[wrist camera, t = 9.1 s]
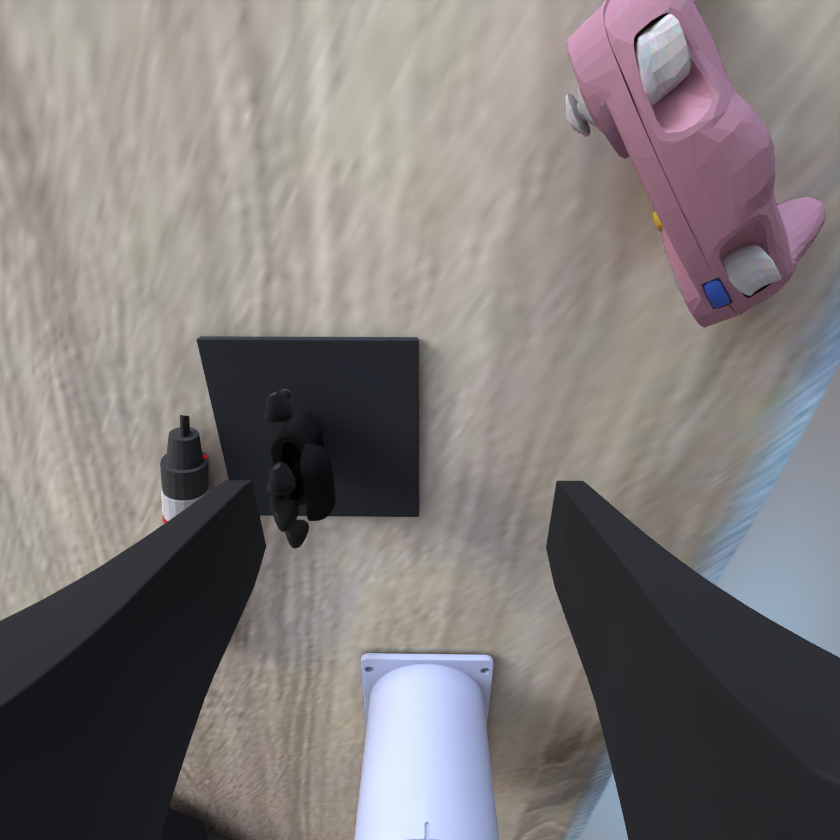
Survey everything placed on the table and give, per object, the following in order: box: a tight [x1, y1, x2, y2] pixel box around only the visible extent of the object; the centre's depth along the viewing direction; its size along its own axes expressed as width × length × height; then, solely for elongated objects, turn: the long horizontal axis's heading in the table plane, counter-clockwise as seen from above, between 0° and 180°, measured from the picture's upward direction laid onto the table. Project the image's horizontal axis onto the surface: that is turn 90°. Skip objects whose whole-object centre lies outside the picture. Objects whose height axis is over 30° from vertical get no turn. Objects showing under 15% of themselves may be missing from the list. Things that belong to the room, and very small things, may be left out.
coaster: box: [197, 337, 419, 517], centre depth 21 cm, size 9×9×1 cm
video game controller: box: [566, 0, 825, 328], centre depth 13 cm, size 10×5×7 cm, turn 38°
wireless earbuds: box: [264, 389, 336, 548], centre depth 18 cm, size 7×2×5 cm, turn 0°
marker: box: [160, 415, 210, 524], centre depth 23 cm, size 15×2×2 cm, turn 168°
